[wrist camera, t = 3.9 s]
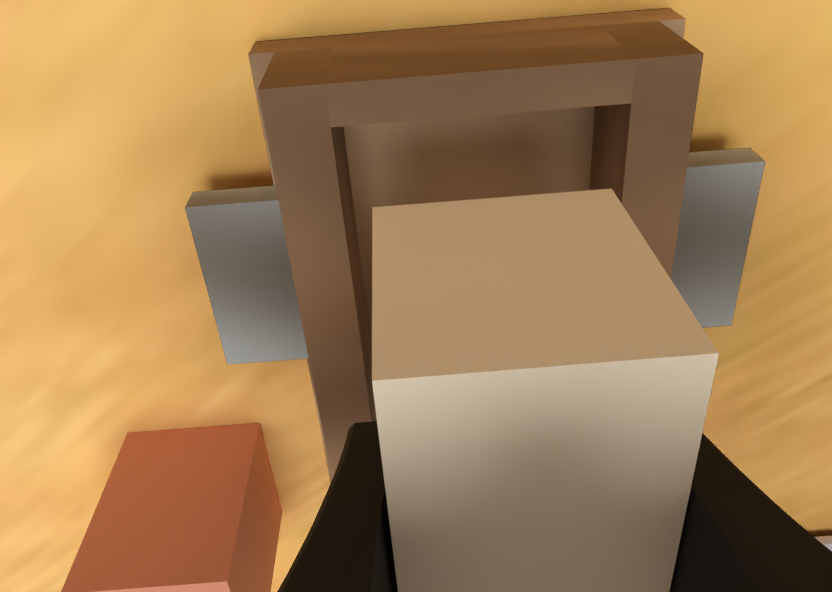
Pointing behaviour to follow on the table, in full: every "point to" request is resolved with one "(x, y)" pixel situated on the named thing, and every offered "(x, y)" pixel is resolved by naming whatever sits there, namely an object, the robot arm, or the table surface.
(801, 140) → the table surface
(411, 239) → the cream rectangular block
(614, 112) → the jig
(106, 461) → the table surface
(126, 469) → the block
